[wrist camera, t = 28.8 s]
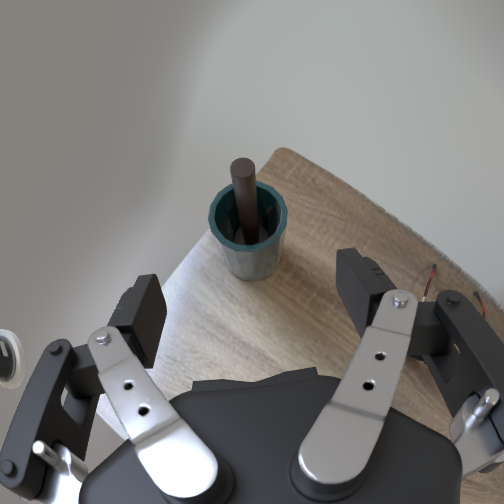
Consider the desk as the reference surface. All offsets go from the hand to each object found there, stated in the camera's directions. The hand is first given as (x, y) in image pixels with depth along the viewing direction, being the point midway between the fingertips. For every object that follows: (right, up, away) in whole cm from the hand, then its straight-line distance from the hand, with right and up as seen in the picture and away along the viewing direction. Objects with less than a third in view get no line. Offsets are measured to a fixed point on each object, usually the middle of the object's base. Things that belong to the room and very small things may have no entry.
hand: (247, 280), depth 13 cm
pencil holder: (0, +1, +32) cm, 32 cm away
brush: (0, +1, +31) cm, 31 cm away
